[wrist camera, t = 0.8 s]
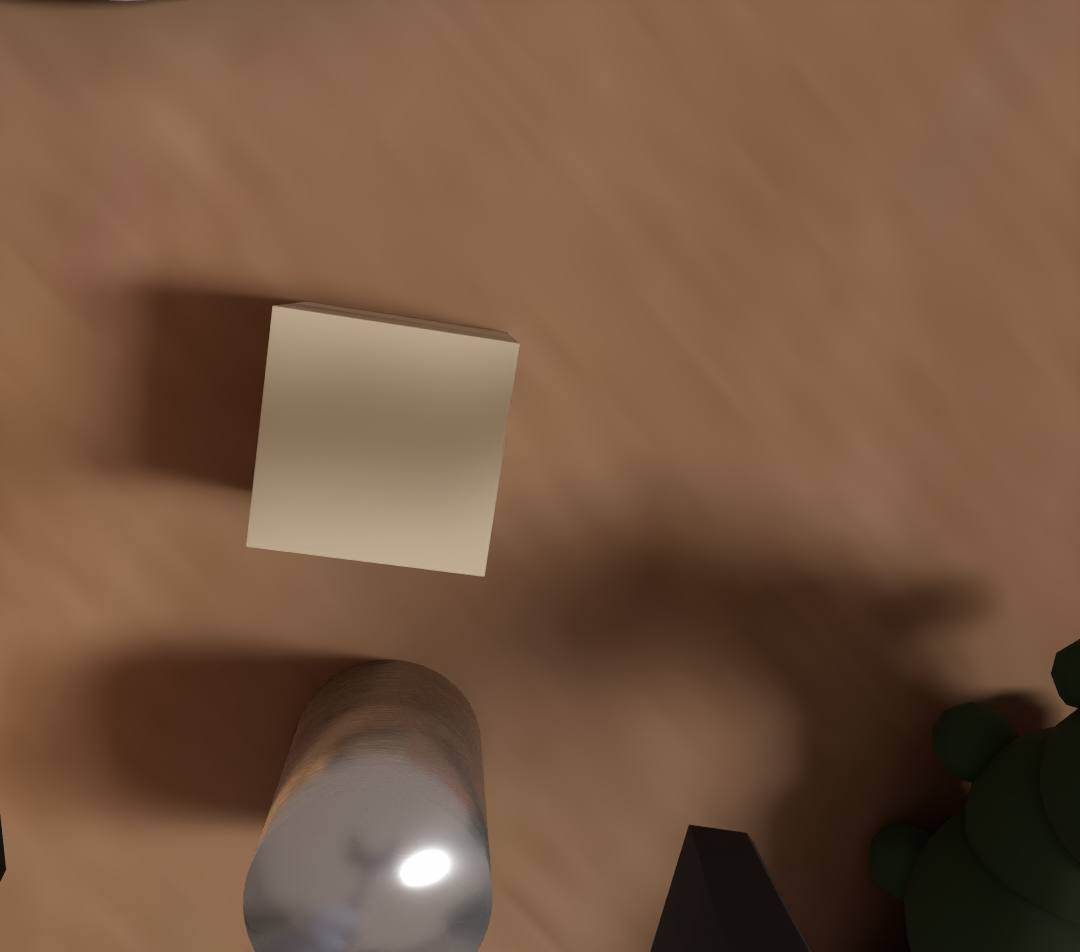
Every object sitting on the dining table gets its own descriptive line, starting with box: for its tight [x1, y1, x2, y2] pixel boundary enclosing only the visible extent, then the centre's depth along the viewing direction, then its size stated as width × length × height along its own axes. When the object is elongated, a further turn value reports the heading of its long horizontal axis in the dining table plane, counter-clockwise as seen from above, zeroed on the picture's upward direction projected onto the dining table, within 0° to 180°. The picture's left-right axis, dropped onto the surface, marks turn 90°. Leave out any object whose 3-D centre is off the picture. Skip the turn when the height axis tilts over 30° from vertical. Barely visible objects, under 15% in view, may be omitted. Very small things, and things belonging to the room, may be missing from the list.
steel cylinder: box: [243, 660, 492, 952], centre depth 24 cm, size 5×5×7 cm
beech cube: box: [246, 302, 520, 577], centre depth 23 cm, size 5×5×5 cm
